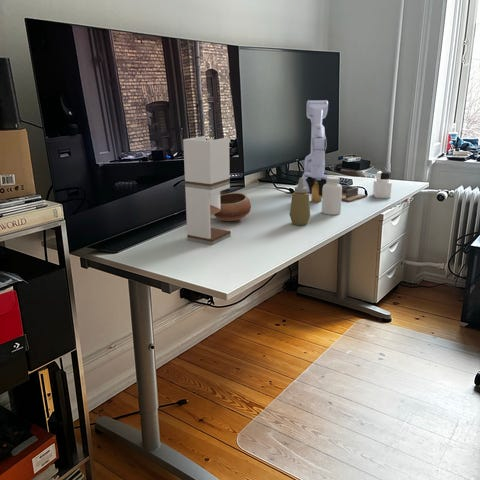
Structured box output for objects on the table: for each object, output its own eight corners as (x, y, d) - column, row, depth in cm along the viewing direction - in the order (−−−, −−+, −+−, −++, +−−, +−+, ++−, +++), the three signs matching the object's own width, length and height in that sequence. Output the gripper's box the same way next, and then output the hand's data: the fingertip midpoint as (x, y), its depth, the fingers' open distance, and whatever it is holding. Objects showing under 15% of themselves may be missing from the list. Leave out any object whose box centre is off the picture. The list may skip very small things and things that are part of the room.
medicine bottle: (387, 194, 237) (389, 170, 233) (390, 198, 230) (392, 172, 226) (372, 194, 237) (374, 170, 234) (375, 197, 231) (377, 172, 227)
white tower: (212, 245, 166) (209, 141, 155) (187, 240, 171) (183, 139, 160) (230, 236, 175) (229, 137, 164) (206, 231, 180) (203, 136, 170)
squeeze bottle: (311, 221, 192) (313, 176, 187) (307, 227, 185) (309, 180, 180) (291, 220, 195) (293, 175, 189) (287, 225, 188) (288, 179, 182)
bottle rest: (321, 196, 233) (321, 187, 232) (338, 192, 243) (338, 183, 241) (349, 202, 222) (350, 192, 221) (366, 197, 232) (366, 187, 230)
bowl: (203, 221, 195) (203, 196, 191) (228, 212, 206) (227, 189, 203) (234, 227, 185) (234, 202, 182) (258, 218, 197) (258, 194, 194)
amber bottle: (309, 201, 225) (310, 179, 222) (315, 199, 228) (316, 178, 225) (317, 202, 222) (318, 181, 219) (323, 201, 225) (324, 179, 222)
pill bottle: (342, 211, 207) (344, 176, 202) (337, 216, 200) (340, 180, 195) (324, 209, 210) (326, 175, 206) (319, 214, 203) (320, 178, 199)
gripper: (299, 164, 222) (298, 193, 226) (325, 167, 212) (324, 198, 216) (309, 162, 226) (308, 190, 231) (335, 165, 217) (333, 195, 221)
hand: (316, 194), depth 224 cm, fingers closed on amber bottle, 5 cm apart
